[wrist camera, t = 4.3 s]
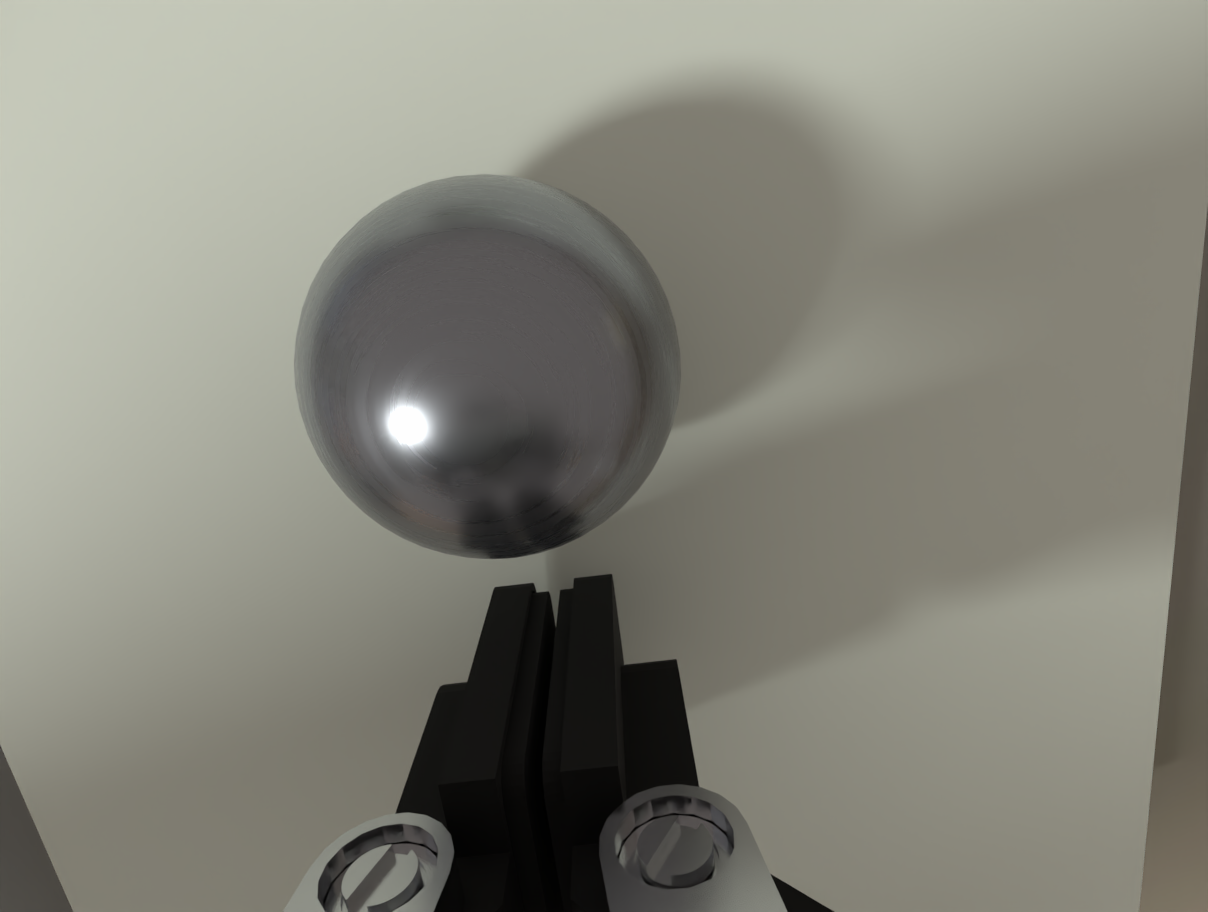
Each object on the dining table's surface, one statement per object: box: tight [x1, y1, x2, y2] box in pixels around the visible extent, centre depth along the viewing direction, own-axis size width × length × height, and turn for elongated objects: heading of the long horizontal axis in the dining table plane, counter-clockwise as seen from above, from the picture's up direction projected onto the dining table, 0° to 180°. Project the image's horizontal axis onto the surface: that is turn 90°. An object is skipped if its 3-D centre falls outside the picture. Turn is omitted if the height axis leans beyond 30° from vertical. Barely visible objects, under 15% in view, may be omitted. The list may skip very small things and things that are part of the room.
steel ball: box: [294, 174, 681, 559], centre depth 8 cm, size 4×4×4 cm
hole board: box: [0, 0, 1208, 912], centre depth 11 cm, size 30×18×3 cm, turn 8°
